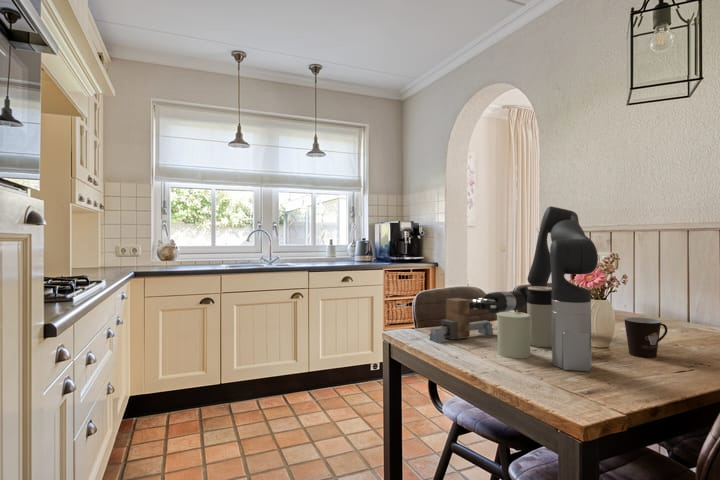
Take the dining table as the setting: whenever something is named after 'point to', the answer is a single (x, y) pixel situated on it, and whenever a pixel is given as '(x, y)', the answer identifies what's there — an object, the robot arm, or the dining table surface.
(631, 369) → the dining table surface
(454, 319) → the wooden rectangular block
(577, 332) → the robot arm
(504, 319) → the can
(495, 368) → the dining table surface
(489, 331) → the grey angular blocks
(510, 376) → the dining table surface
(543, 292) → the travel mug
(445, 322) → the dark grey block
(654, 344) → the coffee mug
